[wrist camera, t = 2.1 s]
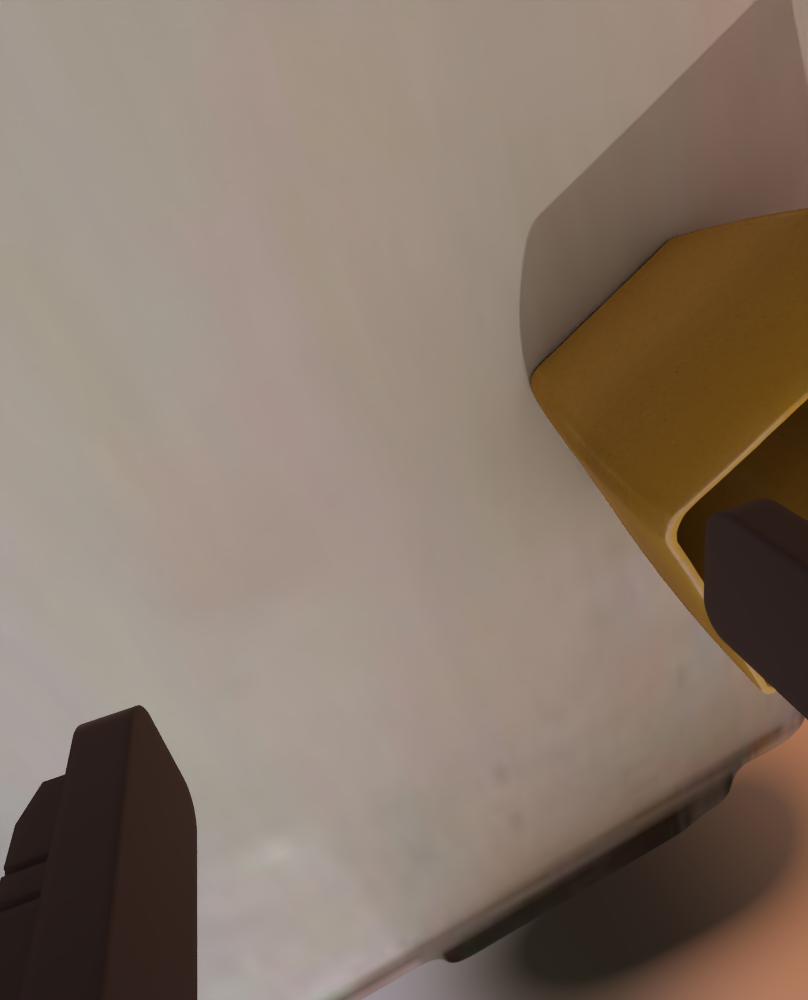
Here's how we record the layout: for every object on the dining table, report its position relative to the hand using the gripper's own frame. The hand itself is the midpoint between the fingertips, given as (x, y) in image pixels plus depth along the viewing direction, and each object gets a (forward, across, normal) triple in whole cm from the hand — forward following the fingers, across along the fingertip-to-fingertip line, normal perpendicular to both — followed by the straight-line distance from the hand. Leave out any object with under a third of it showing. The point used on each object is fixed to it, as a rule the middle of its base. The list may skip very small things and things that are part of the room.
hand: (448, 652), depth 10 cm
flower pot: (+32, -22, +11) cm, 40 cm away
